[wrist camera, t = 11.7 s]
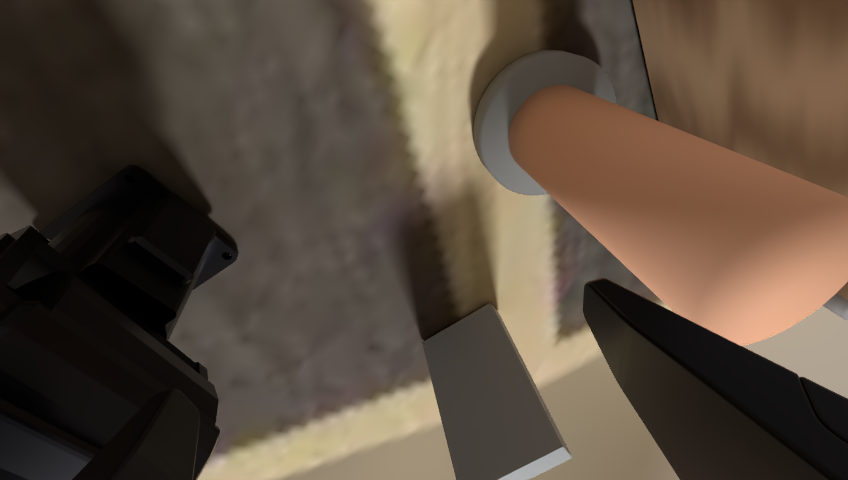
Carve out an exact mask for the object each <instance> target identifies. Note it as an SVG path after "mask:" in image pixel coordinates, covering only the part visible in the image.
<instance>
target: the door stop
mask: <svg viewBox="0 0 848 480" xmlns="http://www.w3.org/2000/svg"><path fill="white" fill-rule="evenodd" d="M473 133H474V143H475V148H476V151H477V154H478V156H479V158H480V160H481V162H482V163H483V165H484V166H485V167H486V169H487V170H488V171H489V172H490V173H491V174H492V176H493V177H494V178H495V179H496V180H497V181H498V182H499V183H500V184H501V185H503V186H504V187H505V188H507V189H509V190H511V191H513V192H516V193H519V194H524V195H544V194H548V193H549V194H550V195H551V196H552V197H553V198H554V199H555V200H556V201H557V202H558V203H559V204H560V205H561V206H562V207H563V208H564V209H565V210H567V211H568V212H569V213H570V214H571V215H572V216H573V217H574V218H575V219H576V220H577V221H578V222H579V223H580V224H581V225H582V226H584V227H585V228H586V229H587V230H588V231H589V232H590V233H591V234H592V235H593V236H594V237H595V238H596V239H597V240H598V241H599V242H601V243H602V244H603V245H604V246H605V247H606V248H607V249H608V250H609V251H610V252H611V253H612V254H613V255H614V256H615V257H616V258H617V259H619V260H620V261H621V262H622V263H623V264H624V265H625V266H626V267H627V268H628V269H629V270H630V271H631V272H632V273H633V274H634V275H636V276H637V277H638V278H639V279H640V280H641V281H642V282H643V283H644V284H645V285H646V286H647V287H648V288H649V289H650V290H651V291H653V292H654V293H655V294H656V295H657V296H658V297H659V298H660V299H661V300H662V301H663V302H664V303H665V304H666V305H667V306H668V307H669V308H671V309H672V310H673V311H674V312H675V313H676V314H678V315H680V316H682V317H684V318H686V319H688V320H690V321H692V322H694V323H696V324H698V325H700V326H702V327H704V328H706V329H708V330H710V331H712V332H714V333H716V334H718V335H720V336H722V337H724V338H726V339H728V340H730V341H732V342H734V343H736V344H738V345H740V346H742V345H747V344H751V343H755V342H758V341H760V340H763V339H766V338H769V337H771V336H773V335H776V334H778V333H780V332H782V331H784V330H786V329H788V328H789V327H791V326H793V325H795V324H796V323H798V322H800V321H801V320H803V319H804V318H806V317H807V316H809V315H810V314H812V313H813V312H814V311H816V310H817V309H818V308H820V307H821V306H822V305H823V304H825V303H826V302H827V301H828V300H829V299H830V298H832V297H833V296H834V295H835V294H836V293H837V292H838V291H839V290H840V289H841V288H842V287H843V286H844V285H845V284H846V283H847V282H848V197H846V196H843V195H841V194H838V193H836V192H834V191H831V190H829V189H826V188H824V187H821V186H819V185H816V184H814V183H811V182H809V181H806V180H804V179H801V178H799V177H796V176H794V175H791V174H789V173H786V172H784V171H781V170H779V169H776V168H774V167H771V166H769V165H766V164H764V163H761V162H759V161H756V160H754V159H751V158H749V157H746V156H744V155H741V154H739V153H736V152H734V151H731V150H729V149H726V148H724V147H721V146H719V145H716V144H714V143H711V142H709V141H706V140H704V139H702V138H699V137H697V136H694V135H692V134H689V133H687V132H684V131H682V130H679V129H677V128H674V127H672V126H669V125H667V124H664V123H662V122H659V121H657V120H654V119H652V118H649V117H647V116H644V115H642V114H639V113H637V112H634V111H632V110H629V109H627V108H624V107H622V106H619V105H617V104H616V95H615V91H614V87H613V85H612V83H611V80H610V78H609V77H608V75H607V74H606V72H605V71H604V70H603V69H602V68H601V67H600V66H599V65H598V64H596V63H595V62H594V61H592V60H590V59H588V58H586V57H583V56H580V55H576V54H572V53H568V52H565V51H561V50H540V51H535V52H532V53H529V54H526V55H524V56H522V57H520V58H518V59H516V60H515V61H513V62H512V63H510V64H509V65H507V66H506V67H505V68H504V69H503V70H501V71H500V72H499V73H498V75H497V76H496V77H495V78H494V79H493V80H492V82H491V83H490V84H489V86H488V87H487V89H486V90H485V92H484V94H483V96H482V98H481V100H480V102H479V105H478V108H477V111H476V114H475V120H474V130H473Z"/></svg>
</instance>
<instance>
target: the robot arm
mask: <svg viewBox="0 0 848 480" xmlns="http://www.w3.org/2000/svg"><path fill="white" fill-rule="evenodd" d="M129 174H133V175H135V176H136V177H137V179H138V181H137V180H133V179H131V178H130V177H129ZM46 238H49V239H51V241H48V240H47V239H46ZM224 252H228V253H230V254H231V256H227V255H225V254H224ZM237 256H238V249H237V248H236V247H235V246H234V245H232V244H231V243H230V242H229V241H228V240H227V239H225V238H224V237H223V236H222V235H221V234H219V233H218V232H217V231H216V228H215V227H214V226H213V225H211V224H210V223H209V222H208V221H207V220H205V219H204V218H203V217H202V216H201V215H199V214H198V213H197V212H196V211H195V210H193V209H192V208H191V207H190V206H189V205H188V204H186V203H185V202H184V201H183V200H182V199H180V198H179V197H178V196H177V195H174V194H172V193H170V192H169V191H168V190H167V189H166V188H164V187H163V186H162V185H161V184H160V183H158V182H157V181H156V180H155V179H154V178H152V177H151V176H150V175H149V174H148V173H146V172H145V171H144V170H143V169H141V168H140V167H138V166H134V165H129V166H126V167H124V168H123V169H122V170H121V171H119V172H118V173H117V174H115V175H114V176H113V177H111V178H110V179H109V180H107V181H106V182H105V183H104V184H102V185H101V186H100V187H98V188H97V189H96V190H94V191H93V192H92V193H90V194H89V195H88V196H87V197H85V198H84V199H83V200H81V201H80V202H79V203H77V204H76V205H75V206H73V207H72V208H71V209H70V210H68V211H67V212H66V213H64V214H63V215H62V216H60V217H59V218H58V219H57V220H55V221H54V222H53V223H51V224H50V225H49V226H47V227H46V228H45V229H43V230H42V231H41V232H40V233H39V232H38V231H37V230H36V229H34V228H33V227H32V226H31V225H30V226H27V227H25V228H23V229H21V230H19V231H17V232H14V233H12V234H10V235H9V234H8V233H5V234H2V235H0V480H197V479H198V477H199V476H200V474H201V472H202V471H203V469H204V467H205V465H206V464H207V462H208V460H209V459H210V457H211V455H212V452H213V450H214V448H215V445H216V443H217V440H218V437H219V433H220V430H219V428H218V427H217V426H215V423H216V416H217V408H218V397H217V394H216V391H215V387H214V385H213V384H211V383H210V382H209V381H208V374H207V369H206V368H205V367H204V366H203V365H201V364H200V363H199V362H196V363H195V362H193V361H192V360H191V359H190V358H188V357H187V356H186V355H185V354H184V353H182V352H181V351H180V350H179V349H177V348H176V347H175V346H174V345H172V344H171V343H170V342H169V341H168V340H169V338H170V336H171V334H172V331H173V329H174V327H175V325H176V323H177V321H178V319H179V317H180V315H181V313H182V310H183V308H184V306H185V304H186V302H187V300H188V298H189V296H190V294H191V292H192V290H194V289H195V288H196V287H198V286H199V285H201V284H202V283H204V282H205V281H207V280H208V279H210V278H211V277H213V276H214V275H216V274H217V273H219V272H220V271H222V270H223V269H225V268H226V267H227V266H229V265H230V264H232V263H233V262H235V261H236V259H237ZM583 313H584V316H585V319H586V321H587V323H588V325H589V327H590V329H591V331H592V333H593V335H594V337H595V339H596V341H597V343H598V345H599V347H600V349H601V351H602V353H603V355H604V357H605V359H606V361H607V363H608V365H609V367H610V369H611V371H612V373H613V375H614V376H615V378H616V380H617V382H618V384H619V385H620V387H621V388H622V390H623V392H624V393H625V395H626V397H627V398H628V399H629V401H630V403H631V404H632V406H633V407H634V409H635V410H636V412H637V413H638V415H639V417H640V418H641V420H642V421H643V423H644V424H645V426H646V428H647V429H648V431H649V432H650V433H651V435H652V437H653V438H654V440H655V442H656V443H657V445H658V446H659V448H660V449H661V451H662V452H663V454H664V455H665V457H666V458H667V460H668V461H669V463H670V465H671V466H672V468H673V469H674V471H675V473H676V474H677V476H678V477H679V479H680V480H848V399H847V398H845V397H843V396H841V395H839V394H837V393H835V392H833V391H831V390H828V389H827V388H824V387H822V386H820V385H819V384H816V383H815V382H813V381H811V380H809V379H807V378H805V377H800V378H799V376H798V375H797V374H796V373H794V372H792V371H790V370H788V369H786V368H784V367H782V366H780V365H778V364H776V363H774V362H772V361H770V360H768V359H766V358H764V357H762V356H760V355H758V354H756V353H754V352H752V351H750V350H748V349H746V348H744V347H742V346H740V345H738V344H736V343H734V342H732V341H730V340H728V339H726V338H724V337H722V336H720V335H718V334H716V333H714V332H712V331H710V330H708V329H706V328H704V327H702V326H700V325H698V324H696V323H694V322H692V321H690V320H688V319H686V318H684V317H682V316H680V315H678V314H676V313H674V312H672V311H670V310H668V309H666V308H664V307H662V306H660V305H658V304H656V303H654V302H652V301H650V300H648V299H646V298H644V297H642V296H640V295H638V294H636V293H634V292H632V291H630V290H628V289H626V288H624V287H622V286H620V285H618V284H616V283H614V282H612V281H610V280H608V279H605V278H601V279H597V280H593V281H589V282H587V283H586V284H585V285H584V296H583Z"/></svg>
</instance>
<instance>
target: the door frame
mask: <svg viewBox="0 0 848 480" xmlns="http://www.w3.org/2000/svg"><path fill="white" fill-rule="evenodd" d="M422 344H423V348H424V352H425V356H426V360H427V364H428V368H429V372H430V376H431V380H432V384H433V388H434V392H435V396H436V400H437V404H438V408H439V412H440V416H441V420H442V424H443V428H444V432H445V436H446V439H447V444H448V448H449V452H450V456H451V460H452V464H453V468H454V472H455V476H456V480H529V479H531V478H533V477H535V476H537V475H539V474H541V473H543V472H545V471H547V470H549V469H551V468H553V467H555V466H557V465H559V464H561V463H563V462H565V461H567V460H569V459H571V458H572V456H571V454H570V452H569V450H568V448H567V446H566V444H565V442H564V441H563V438H562V436H561V434H560V432H559V430H558V429H557V426H556V424H555V423H554V421H553V419H552V417H551V415H550V413H549V411H548V409H547V407H546V405H545V403H544V401H543V399H542V397H541V395H540V393H539V391H538V389H537V387H536V385H535V383H534V381H533V379H532V377H531V375H530V373H529V372H528V370H527V368H526V366H525V364H524V362H523V360H522V358H521V356H520V354H519V352H518V350H517V348H516V346H515V344H514V342H513V340H512V338H511V336H510V334H509V332H508V330H507V328H506V326H505V324H504V323H503V321H502V319H501V317H500V315H499V313H498V312H497V310H496V309H495V308H494V306H493V305H492V304H491V303H489V304H487V305H485V306H484V307H482V308H480V309H479V310H477V311H475V312H473V313H472V314H470V315H468V316H467V317H465V318H463V319H461V320H460V321H458V322H456V323H455V324H453V325H451V326H449V327H448V328H446V329H444V330H443V331H441V332H439V333H437V334H436V335H434V336H432V337H431V338H429V339H427V340H425V341H424V342H422Z"/></svg>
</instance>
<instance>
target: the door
mask: <svg viewBox="0 0 848 480" xmlns="http://www.w3.org/2000/svg"><path fill="white" fill-rule="evenodd" d="M633 5H634V9H635V14H636V19H637V23H638V28H639V33H640V37H641V42H642V47H643V51H644V56H645V61H646V65H647V70H648V74H649V79H650V84H651V88H652V93H653V98H654V102H655V107H656V112H657V116H658V121H659V122H662V123H664V124H667V125H669V126H672V127H674V128H677V129H679V130H682V131H684V132H687V133H689V134H692V135H694V136H697V137H699V138H702V139H704V140H706V141H709V142H711V143H714V144H716V145H719V146H721V147H724V148H726V149H729V150H731V151H734V152H736V153H739V154H741V155H744V156H746V157H749V158H751V159H754V160H756V161H759V162H761V163H764V164H766V165H769V166H771V167H774V168H776V169H779V170H781V171H784V172H786V173H789V174H791V175H794V176H796V177H799V178H801V179H804V180H806V181H809V182H811V183H814V184H816V185H819V186H821V187H824V188H826V189H829V190H831V191H834V192H836V193H838V194H841V195H843V196H846V197H848V0H633ZM823 306H824V307H826V308H827V309H829V310H830V311H832V312H833V313H835V314H837V315H838V316H840V317H841V318H843V319H844V320H848V282H847V283H846V284H845V285H844V286H843V287H842V288H841V289H840V290H839V291H838V292H837V293H836V294H835V295H834V296H833V297H832V298H830V299H829V300H828V301H827V302H826V303H825V304H823Z"/></svg>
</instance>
